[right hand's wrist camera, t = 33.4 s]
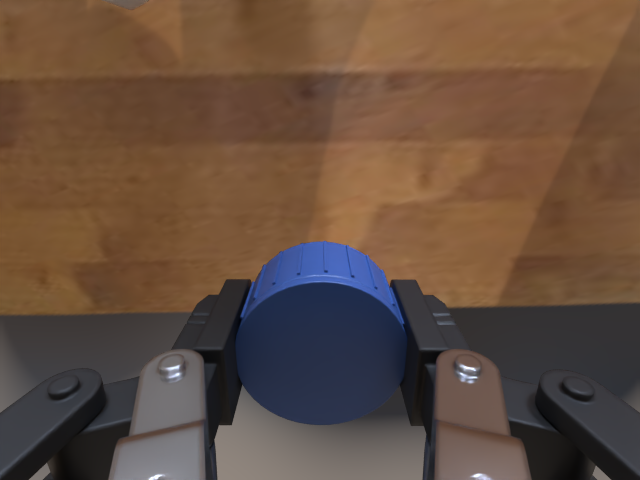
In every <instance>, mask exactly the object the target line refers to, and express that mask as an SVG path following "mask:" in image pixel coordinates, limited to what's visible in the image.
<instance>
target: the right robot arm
mask: <svg viewBox="0 0 640 480" xmlns="http://www.w3.org/2000/svg"><path fill="white" fill-rule="evenodd" d="M251 285H252V283H251V280H250V279H227V280H226V281H225V283H224V285H223V287H222V289H221V291H220V293H219V295H208V296H207V297H206V298H204V299H203V300H202V301H200V302H199V303H197V305H196V307H195V309H194V310H193V312H192V316H190V317H189V319H188V321H187V324H186V325H185V326H184V328H183V330H182V331H181V333H180V335H179V337H178V339H177V340H176V342H175V344H174V346H173V347H172V349H171V350H170V351H167V352H164V353H161V354H159V355H157V356H155V357H154V358H152V359H151V360H149V361H148V362H147V363H146V364H145V365H144V367H143V368H142V370H141V373H140V376H139V377H136V378H132V379H128V380H123V381H119V382H114V383H109V384H105V385H103V382H102V378H101V375H100V374H99V373H98V372H97V371H95V370H92V369H85V368H82V369H74V370H69V371H65V372H62V373H59V374H57V375H55V376H52V377H50V378H49V379H47V380H45V381H44V382H42V383H41V384H39V385H38V386H36V387H35V388H34V389H32V390H31V391H30V392H28V393H27V394H26V395H24V396H23V397H21V398H20V399H19V400H17V401H16V402H15V403H13V404H12V405H10V406H9V407H8V408H6V409H5V410H4V411H2V412H1V413H0V480H29V479H30V478H31V477H32V476H33V475H34V474H35V473H36V472H37V471H38V470H39V469H40V468H42V466H44V465H45V464H46V463H48V466H49V469H50V473H49V474H48V475H47V476H46V477H45V478H44V479H43V480H217V466H216V451H215V442H214V439H215V436H216V433H217V429H218V426H219V425H232V422H233V418H234V414H235V410H236V406H237V403H238V399H239V395H240V391H241V387H242V382H241V380H240V378H239V376H238V370H237V359H236V349H235V339H236V335H237V332H238V329H239V326H240V323H241V319H240V316H241V313H242V310H243V308H244V305H245V302H246V299H247V296H248V293H249V290H250V288H251ZM390 288H392V290H393V293H394V296H395V299H396V301H397V304H398V307H399V310H400V313H401V315H402V318H403V321H404V326H403V327H404V329H405V332H406V336H407V351H406V361H405V371H404V378H403V380H402V382H401V383H400V387H401V391H402V394H403V398H404V402H405V406H406V409H407V413H408V417H409V420H410V424H411V426H424V427H425V431H426V442H425V450H424V466H423V480H597V479H596V478H595V477H594V476H593V475H592V474H593V471H594V469H595V466H597V467H599V468H600V469H601V470H602V471H603V472H604V473H605V474H606V475H607V476H608V477H609V478H610V479H611V480H640V413H639V412H638V411H636V410H635V409H634V408H632V407H631V406H630V405H628V404H627V403H626V402H624V401H623V400H621V399H620V398H619V397H617V396H616V395H615V394H613V393H612V392H610V391H609V390H608V389H606V388H605V387H604V386H602V385H601V384H599V383H598V382H596V381H595V380H593V379H591V378H589V377H587V376H585V375H582V374H579V373H576V372H573V371H568V370H550V371H547V372H545V373H543V374H542V376H541V378H540V381H539V385H536V384H531V383H526V382H522V381H517V380H513V379H509V378H506V377H503V376H500V373H499V370H498V368H497V367H496V365H495V364H494V363H493V362H492V361H490V360H489V359H488V358H486V357H485V356H483V355H481V354H479V353H476V352H473V351H472V350H471V348H470V347H469V345H468V343H467V341H466V340H465V338H464V336H463V335H462V333H461V331H460V329H459V328H458V326H457V325H456V323H455V321H454V319H453V317H452V316H451V314H450V312H449V310H448V309H447V307H446V305H445V304H444V303H443V302H442V301H440V300H439V299H438V298H436V297H435V296H433V295H423V293H422V291H421V289H420V287H419V285H418V283H417V281H416V280H391V283H390Z"/></svg>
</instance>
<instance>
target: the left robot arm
mask: <svg viewBox="0 0 640 480" xmlns="http://www.w3.org/2000/svg"><path fill="white" fill-rule="evenodd" d="M103 1H105V2H108V3H111V4H114V5H117V6H119V7H122V8H125V9H129V10H133V9H135V8H137V7H139V6H141V5H143V4H145V3H146V2H148V0H103Z"/></svg>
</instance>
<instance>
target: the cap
mask: <svg viewBox="0 0 640 480" xmlns="http://www.w3.org/2000/svg"><path fill="white" fill-rule="evenodd" d="M240 319H241V323H240V326H239V329H238V332H237V335H236V339H235V349H236V359H237V370H238V376H239V378H240V380H241V382H242V384H243V386H244V387H245V389H246V390H247V392H248V393H249V394H250V395H251V396H252V397H253V399H254V400H256V401H257V402H258V403H259V404H260V405H261V406H263V407H264V408H266V409H267V410H269V411H270V412H272V413H274V414H276V415H278V416H280V417H282V418H285V419H288V420H291V421H294V422H298V423H304V424H311V425H331V424H339V423H344V422H348V421H352V420H354V419H358V418H360V417H362V416H365V415H367V414H369V413H371V412H372V411H374V410H375V409H377V408H378V407H380V406H381V405H382V404H384V403H385V402H386V401H387V400H388V399H389V398H390V397H391V396H392V395H393V394H394V392H395V391H396V390H397V388H398V387H399V385H400V383H401V382H402V380H403V378H404V371H405V361H406V351H407V336H406V332H405V329H404V327H403V326H404V321H403V318H402V315H401V313H400V310H399V307H398V304H397V301H396V299H395V296H394V293H393V290H392V288H390V287H389V284H388V282H387V279H386V277H385V274H384V271H383V270H380V269H379V267H378V266H377V265H376V264H375V263H374V262H373V261H372V260H371V259H370V258H369V256H368V255H364V254H363V253H361V252H359V251H357V250H355V249H353V248H351V247H349V246H348V245H346V246H345V245H342V244H337V243H331V242H326V241H324V242H311V243H305V244H303V243H301V244H300V245H297V246H294V247H292V248H289V249H287V250H285V251H283V252H282V251H281V252H279V254H278V255H277V256H275V257H274V258H273V259H271V260H270V261H269V262H268V263H267V264H266V265H265V264H264V265H263V267H262V270H261V272H260V273H259V274H258V276H257V278H256V280H255V282H254V281H253V282H252V285H251V288H250V290H249V293H248V296H247V299H246V302H245V305H244V308H243V310H242V313H241V316H240Z"/></svg>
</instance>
